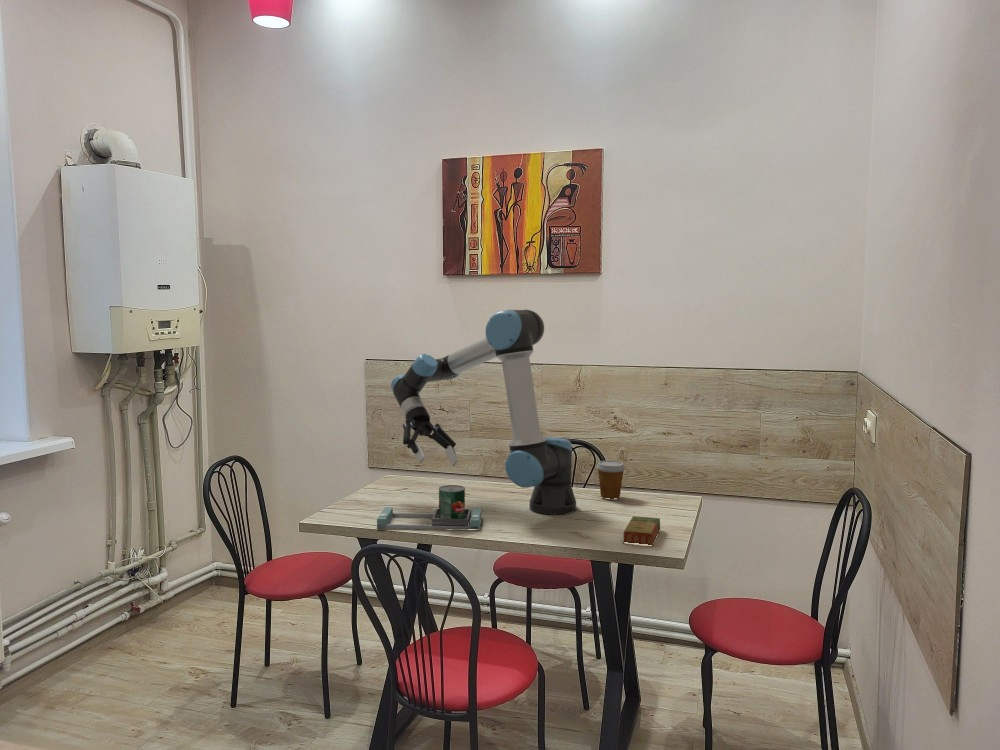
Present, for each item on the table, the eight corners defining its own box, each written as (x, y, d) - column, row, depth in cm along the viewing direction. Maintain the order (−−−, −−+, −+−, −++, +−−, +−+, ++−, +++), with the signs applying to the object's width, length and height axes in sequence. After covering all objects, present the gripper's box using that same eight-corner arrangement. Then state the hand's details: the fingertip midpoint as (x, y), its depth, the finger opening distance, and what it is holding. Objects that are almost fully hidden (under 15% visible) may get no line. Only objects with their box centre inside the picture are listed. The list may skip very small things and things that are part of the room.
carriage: (471, 512, 237) (471, 508, 237) (468, 525, 224) (468, 520, 224) (436, 512, 237) (436, 507, 237) (431, 524, 224) (431, 519, 224)
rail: (481, 517, 237) (481, 514, 237) (478, 530, 224) (478, 526, 224) (384, 516, 238) (384, 512, 238) (377, 528, 225) (377, 524, 225)
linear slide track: (481, 517, 237) (481, 507, 237) (478, 530, 224) (478, 519, 224) (384, 516, 238) (384, 506, 238) (377, 528, 225) (376, 517, 225)
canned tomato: (440, 519, 235) (440, 484, 234) (466, 520, 235) (466, 484, 234) (437, 527, 227) (436, 491, 226) (463, 527, 227) (463, 491, 226)
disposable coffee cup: (626, 501, 256) (626, 466, 255) (597, 501, 256) (598, 466, 255) (622, 494, 266) (622, 460, 264) (594, 494, 266) (595, 460, 265)
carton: (622, 545, 213) (622, 530, 212) (631, 528, 228) (632, 514, 227) (653, 548, 210) (653, 533, 210) (660, 531, 225) (660, 517, 225)
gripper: (438, 424, 265) (462, 471, 252) (379, 417, 248) (401, 467, 235) (450, 410, 262) (474, 456, 249) (390, 401, 245) (413, 450, 232)
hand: (439, 461), depth 242 cm, fingers open, 13 cm apart
